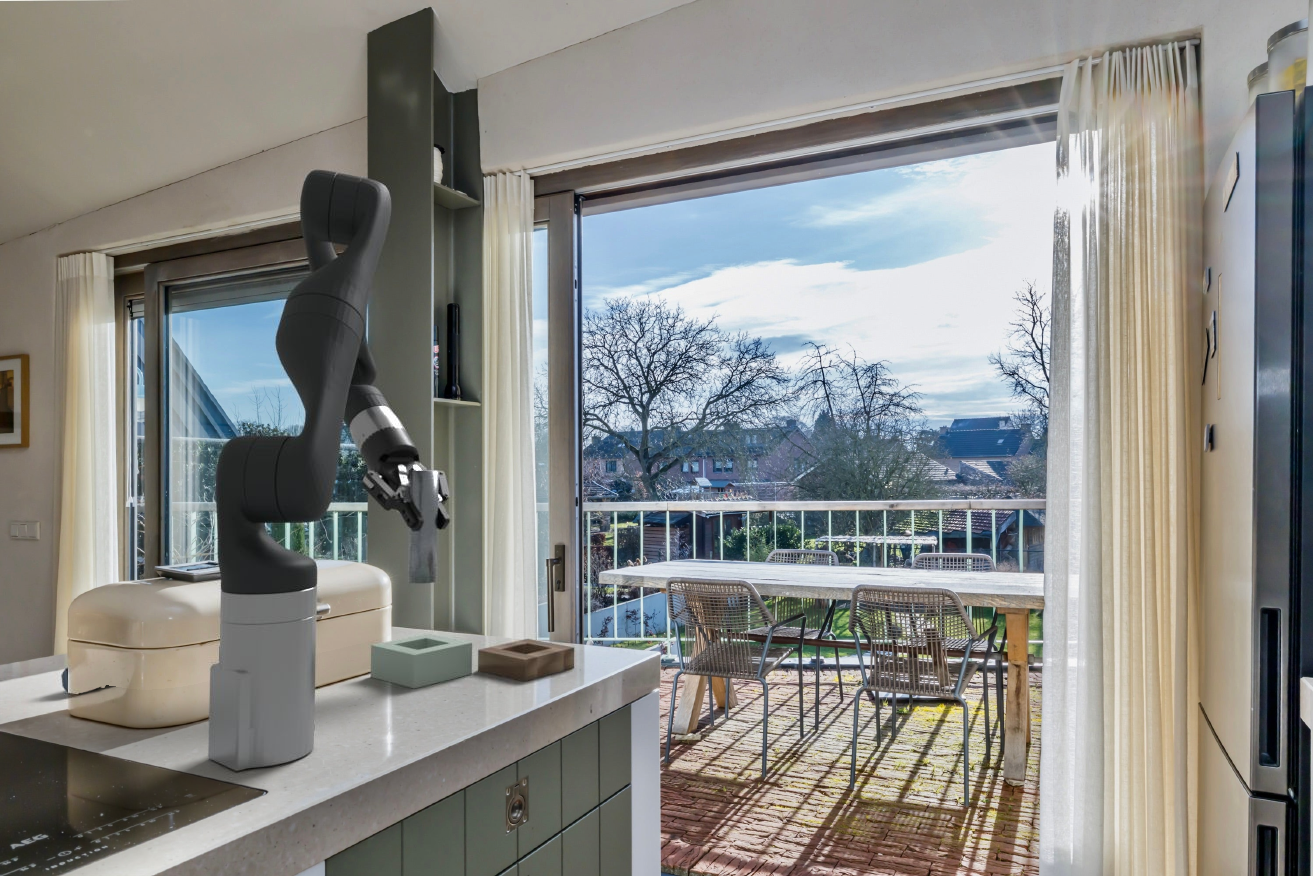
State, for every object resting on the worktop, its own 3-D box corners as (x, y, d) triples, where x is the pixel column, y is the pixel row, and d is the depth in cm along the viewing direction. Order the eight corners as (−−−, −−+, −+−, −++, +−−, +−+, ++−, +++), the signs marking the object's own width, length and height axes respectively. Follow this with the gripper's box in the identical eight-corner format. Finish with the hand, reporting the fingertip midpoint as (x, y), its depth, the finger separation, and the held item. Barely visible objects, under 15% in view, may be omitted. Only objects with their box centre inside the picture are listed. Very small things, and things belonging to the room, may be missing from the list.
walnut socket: (525, 681, 116) (525, 659, 116) (477, 670, 122) (478, 649, 122) (574, 667, 124) (574, 647, 124) (527, 657, 130) (527, 638, 130)
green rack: (413, 688, 112) (414, 655, 112) (370, 676, 118) (371, 644, 118) (471, 674, 120) (472, 642, 120) (428, 663, 126) (428, 633, 126)
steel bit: (419, 584, 117) (421, 470, 117) (402, 581, 119) (404, 470, 119) (442, 581, 120) (444, 470, 120) (425, 578, 122) (427, 470, 123)
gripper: (351, 422, 119) (401, 510, 111) (433, 426, 130) (483, 507, 122) (330, 459, 122) (377, 547, 114) (411, 460, 133) (459, 540, 126)
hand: (432, 526), depth 118 cm, fingers closed on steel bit, 4 cm apart
